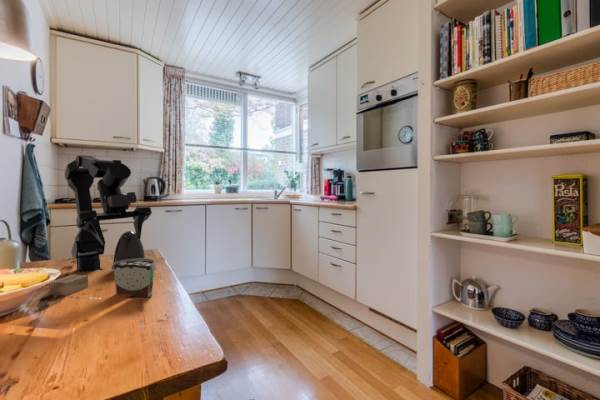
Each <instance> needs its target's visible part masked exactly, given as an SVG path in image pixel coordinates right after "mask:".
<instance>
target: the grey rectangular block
mask: <svg viewBox="0 0 600 400" xmlns="http://www.w3.org/2000/svg"><path fill="white" fill-rule="evenodd" d="M50 282H51V283H50ZM50 282H49V291H50V293H49V294H50V295H52V296H55V295H58V296H68V295H71V294H74V293H77V292H78V291H81V290H84V289H86V288H88V287H89V275H87V274H71V275H68V276H65V277H60V278H58V279H56V280H52V281H50Z"/></svg>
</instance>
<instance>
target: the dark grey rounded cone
mask: <svg viewBox="0 0 600 400" xmlns="http://www.w3.org/2000/svg"><path fill="white" fill-rule="evenodd" d="M137 258H146V253H145V248H144V245H143V242H142V240H141V239H140V240H138V238H137V236H136V232H135V231H131V230H128V231H124V232H123V233H122V234H121V235H120V236H119V238H118V241H117V243H116V246H115V248H114V254H113V260H112V263H113V262H117V261H121V260H127V259H137Z"/></svg>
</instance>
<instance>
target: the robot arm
mask: <svg viewBox="0 0 600 400" xmlns="http://www.w3.org/2000/svg"><path fill="white" fill-rule="evenodd" d="M131 174H132V171H131V169H130V168H129V167H128V166H127V165H126V164H124V163H122V160H120V159H113V160H108V159H107V160H105V159H99V158H96V157H95V156H93V155H77V156H76V158H75V160H73V161H71V162H69V163H68V164H67V165H66V167H65V171H64V179H65V180H66V181H67V182H66V183H67V186H68V187H69V188H70V190H72V191H73V192H74V198H75V206H76V213H77V216H76V220H75V223H76V227H77V229H79V230H78V232H77V234H76V235H75V237H74V242H73V244H72V248H71V250H70V251H71V257H72V258H73V259H76V270H77V271H79V272H81V273H82V272H95V271H97V270H98V271H103V270H104V268H101V259H100V255H101V256H102V255H104V253H105V248H106V241H105V237H104V234H103V231H102V228H101V224H100V223H101V221H110V220H111V221H112V220H119V219H129V218H132V220H133V227H134V232H135V233H136V236H137V238H138V240H141V237H142V236H141V235H142V228H143V224H144V223H145V221H147V220H148V219H149V218H150V217H151V215H152V214H153V212H152V208H151V207H150V206H148V205H145V206H144V205H143V206H136V207H135V209H134V210H129V207H130V206H132V204H134V203H137V195H136V194H137V193H136V192H135V191H130V192H127V193H126V194H124V193H123V192H122V190H121V188H122V187H123V186H124V185H125V183H126V182H127V181H128V180H129V178H130V176H131ZM95 179H99V180H98V182H96V183H97V184H96V185H97V187H96V189H97V190H98V193H99V198H100V205H101V207H102V211H103V213H97V211H96V210H95V209H94V210H93V203H92V196H91V190H90V189H91V188H92V185H93V184H94V181H95ZM127 210H129V211H127Z"/></svg>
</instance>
